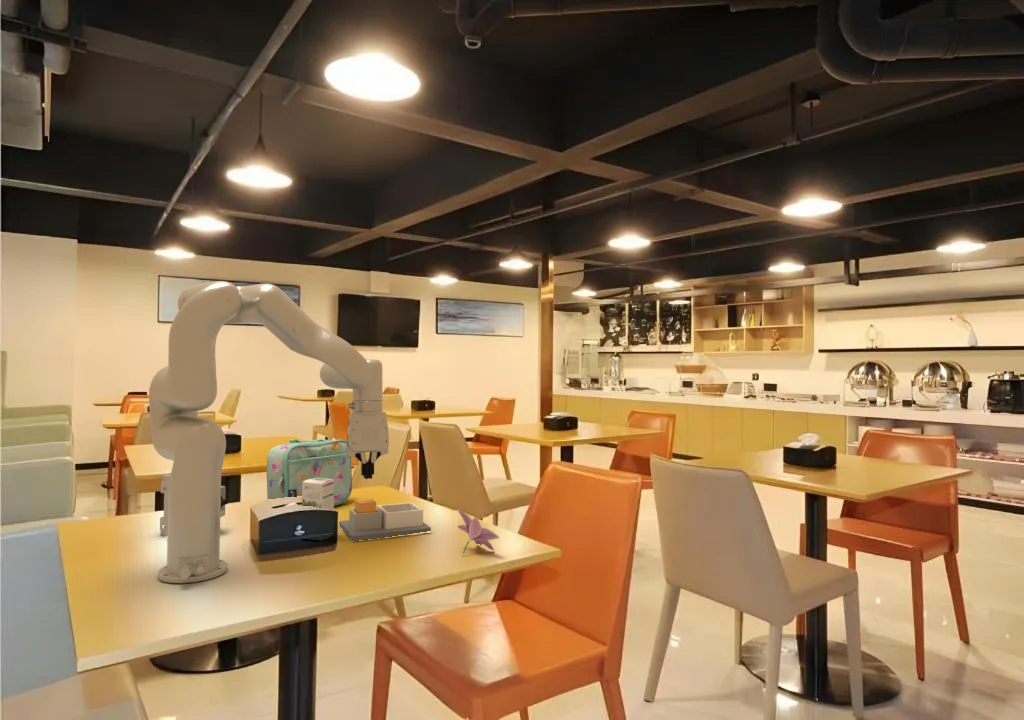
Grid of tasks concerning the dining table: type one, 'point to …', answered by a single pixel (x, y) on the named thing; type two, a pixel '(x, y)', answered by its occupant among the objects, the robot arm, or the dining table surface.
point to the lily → (476, 531)
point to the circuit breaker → (165, 519)
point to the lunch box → (308, 467)
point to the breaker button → (365, 506)
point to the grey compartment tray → (385, 522)
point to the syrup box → (318, 492)
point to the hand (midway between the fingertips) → (367, 477)
